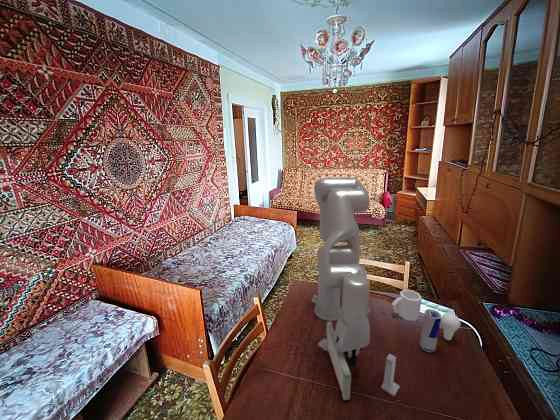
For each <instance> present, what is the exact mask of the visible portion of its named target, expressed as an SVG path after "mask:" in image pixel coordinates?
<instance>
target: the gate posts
mask: <svg viewBox="0 0 560 420" xmlns="http://www.w3.org/2000/svg"><path fill="white" fill-rule="evenodd" d="M326 322H327V323H326V338H325V337H324V338H323V339H321V340H320V341H319V342H318V343H317V346H318V347H319V348H321V349H322V350H324V351H326V352H329V351H328V327H333V321H326ZM396 361H397V356H395V355H393V354H391V353H388V355H387V357H385V366H384V375H383V383H382V384H381V387H380V389H382V390H383V391H385V392H386V393H388V394H389V395H391V396H392V397H395V396H396V395H397V393H398V391H399V389H400V387H401V385H399V384H398V383H396V382H395V381H394V378H395V371H396V370H395V369H396V364H397V362H396Z"/></svg>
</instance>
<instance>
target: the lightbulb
mask: <svg viewBox="0 0 560 420" xmlns="http://www.w3.org/2000/svg"><path fill="white" fill-rule="evenodd" d="M440 324H441V325H442V327H443V337H444V339H445V340H447V341H451V340H452V338H453V336H454V334H455V332H456V331H458V330H459V329H460V327H461V319H459V317H458V316H457V315H456V314H454V313H451V312H446V313H444V314H442V315H441V321H440Z"/></svg>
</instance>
